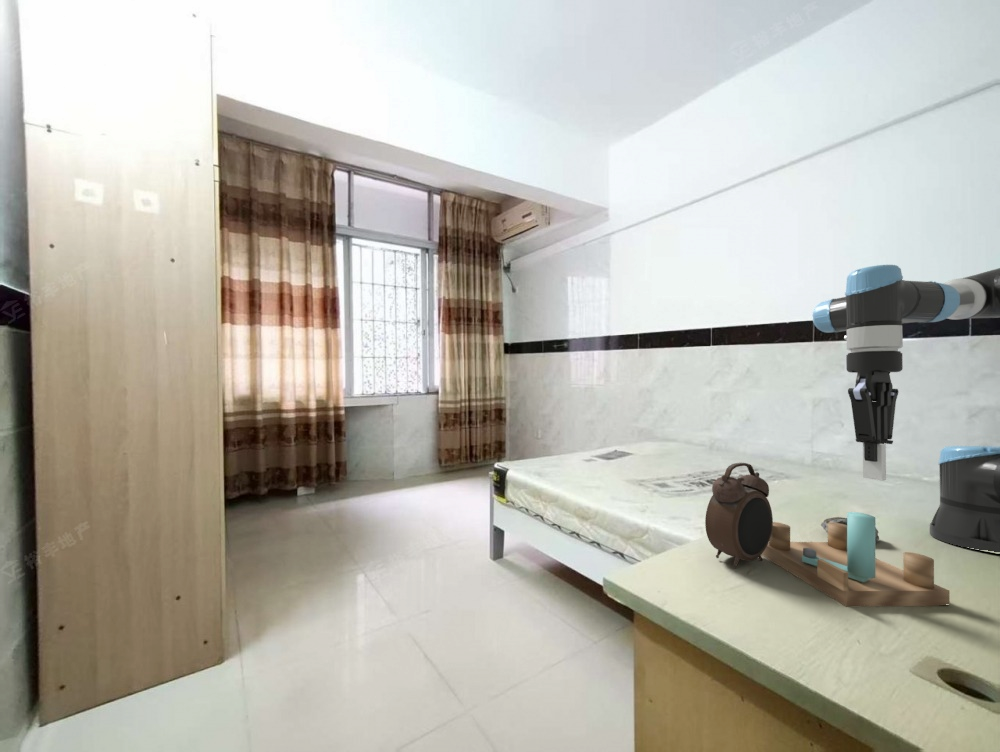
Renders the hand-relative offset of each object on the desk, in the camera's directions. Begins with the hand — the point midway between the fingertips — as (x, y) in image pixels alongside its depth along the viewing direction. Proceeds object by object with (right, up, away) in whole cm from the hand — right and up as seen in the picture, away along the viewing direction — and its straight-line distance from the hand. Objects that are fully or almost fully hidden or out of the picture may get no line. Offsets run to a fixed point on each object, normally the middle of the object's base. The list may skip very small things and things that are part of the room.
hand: (874, 478), depth 72 cm
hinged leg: (-8, -16, -1) cm, 18 cm away
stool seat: (-4, -19, +3) cm, 20 cm away
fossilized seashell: (+15, -21, +22) cm, 34 cm away
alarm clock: (-20, -19, +8) cm, 29 cm away
